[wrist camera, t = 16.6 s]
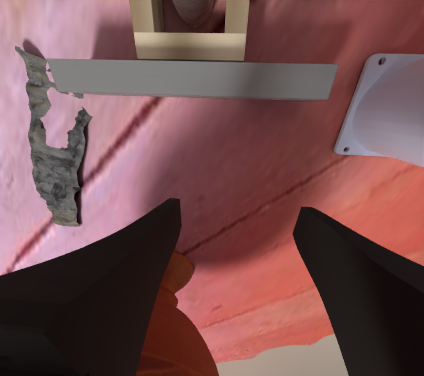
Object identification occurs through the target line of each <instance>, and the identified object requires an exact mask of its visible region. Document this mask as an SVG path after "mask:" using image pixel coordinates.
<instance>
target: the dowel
mask: <svg viewBox="0 0 424 376" xmlns="http://www.w3.org/2000/svg"><path fill="white" fill-rule="evenodd" d="M172 1H173V3H174V5H175V7H176V9H177V11H178V13H179V15H180V17H181V18H182V20H183V21H184V22H185V23H186V24H188V25H190V26H200V25H202V24H204V23H205V22H206V21H207V20H208V19H209V17H210V15H211V13H212V10H213V6H214V0H172Z"/></svg>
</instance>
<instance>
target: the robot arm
mask: <svg viewBox="0 0 424 376" xmlns="http://www.w3.org/2000/svg"><path fill="white" fill-rule="evenodd" d="M380 59H381V60H382V62H381V64H380V65H379V64H378V61H379V60H380ZM346 147H347V149H346V150H345V151H344V148H346ZM334 152H335V153H336V154H343V155H364V156H385V157H391V158H395V159H398V160H401V161H404V162H408V163H411V164H414V165H417V166H421V167H424V54H382V53H378V54H374V55H371V56H370V57H369V58H368V59H367V60H366V62H365V65H364V68H363V70H362V73H361V76H360V79H359V81H358V84H357V87H356V89H355V92H354V95H353V98H352V100H351V103H350V106H349V109H348V111H347V114H346V117H345V119H344V122H343V125H342V128H341V130H340V133H339V136H338V139H337V141H336V144H335V147H334ZM181 226H182V225H181V210H180V199H174V198H169V199H168V200H166V201H165V202H163V203H162V204H161V205H159V206H158V207H156V208H155V209H153V210H152V211H150V212H149V213H148V214H146V215H144V216H143V217H141V218H140V219H138V220H136V221H135V222H133V223H132V224H130V225H128V226H127V227H125V228H123V229H121V230H119V231H117V232H115V233H113V234H111V235H109V236H107V237H105V238H103V239H101V240H99V241H96V242H94V243H92V244H89V245H87V246H85V247H83V248H80V249H78V250H75V251H73V252H70V253H67V254H65V255H62V256H59V257H57V258H54V259H51V260H48V261H45V262H42V263H39V264H36V265H33V266H30V267H27V268H24V269H21V270H17V271H14V272H11V273H8V274H5V275H1V276H0V376H136V372H137V368H138V364H139V360H140V356H141V352H142V348H143V345H144V341H145V337H146V333H147V329H148V326H149V322H150V319H151V315H152V311H153V308H154V304H155V301H156V298H157V294H158V291H159V288H160V284H161V281H162V278H163V276H164V273H165V271H166V268H167V266H168V263H169V261H170V258H171V256H172V253H173V251H174V248H175V246H176V243H177V241H178V237H179V234H180V230H181ZM293 237H294V240H295V243H296V246H297V249H298V251H299V253H300V255H301V257H302V259H303V261H304V263H305V265H306V267H307V269H308V271H309V273H310V275H311V277H312V279H313V281H314V283H315V285H316V287H317V289H318V292H319V294H320V296H321V298H322V301H323V303H324V306H325V309H326V311H327V314H328V316H329V319H330V322H331V324H332V327H333V330H334V333H335V336H336V338H337V341H338V344H339V347H340V350H341V353H342V356H343V359H344V362H345V365H346V368H347V371H348V375H349V376H424V266H422V265H420V264H417V263H415V262H413V261H411V260H409V259H407V258H405V257H403V256H400V255H398V254H396V253H394V252H392V251H390V250H388V249H386V248H384V247H382V246H380V245H378V244H377V243H375V242H373V241H371V240H369V239H367V238H365V237H364V236H362V235H360V234H358V233H357V232H355V231H353V230H351V229H350V228H348V227H346V226H344V225H343V224H341V223H339V222H338V221H336V220H334V219H333V218H331V217H329V216H328V215H326V214H324V213H322V212H321V211H319V210H317V209H315V208H313V207H301V210H300V213H299V216H298V219H297V222H296V225H295V228H294V231H293Z"/></svg>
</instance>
